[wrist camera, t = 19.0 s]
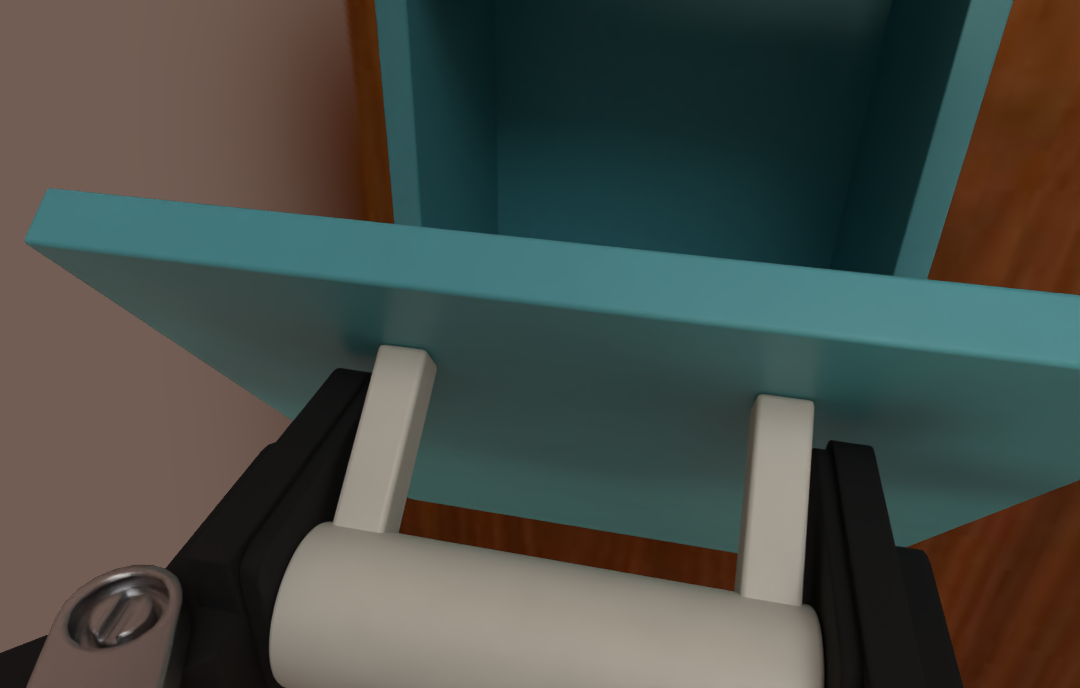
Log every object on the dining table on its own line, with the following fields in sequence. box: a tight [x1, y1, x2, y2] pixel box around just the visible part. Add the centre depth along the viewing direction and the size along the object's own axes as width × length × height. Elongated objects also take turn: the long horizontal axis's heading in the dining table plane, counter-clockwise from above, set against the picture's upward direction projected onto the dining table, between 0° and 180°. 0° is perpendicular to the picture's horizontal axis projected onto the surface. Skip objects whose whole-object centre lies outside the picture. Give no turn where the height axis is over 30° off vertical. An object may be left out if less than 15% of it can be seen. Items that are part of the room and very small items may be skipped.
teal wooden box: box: [375, 0, 1013, 279], centre depth 24 cm, size 17×14×9 cm
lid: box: [25, 188, 1080, 688], centre depth 16 cm, size 17×14×5 cm
